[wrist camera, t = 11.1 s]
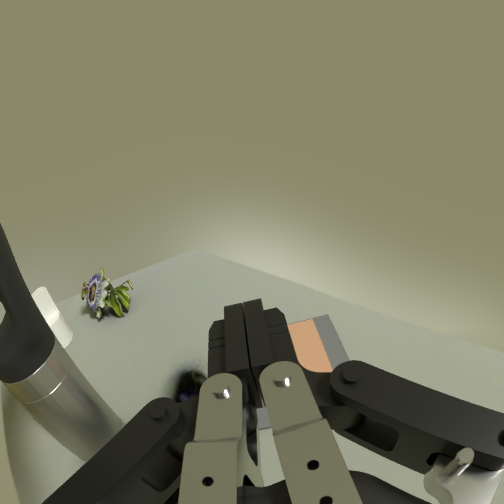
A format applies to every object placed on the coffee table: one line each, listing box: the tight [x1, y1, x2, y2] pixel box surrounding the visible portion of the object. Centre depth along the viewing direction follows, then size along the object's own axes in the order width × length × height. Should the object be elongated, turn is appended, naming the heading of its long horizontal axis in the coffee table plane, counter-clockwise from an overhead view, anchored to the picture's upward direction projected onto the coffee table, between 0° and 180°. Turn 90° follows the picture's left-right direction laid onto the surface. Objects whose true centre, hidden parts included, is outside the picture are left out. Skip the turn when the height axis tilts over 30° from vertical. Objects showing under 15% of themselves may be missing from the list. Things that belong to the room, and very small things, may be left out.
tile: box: [261, 319, 333, 402], centre depth 39 cm, size 10×2×12 cm
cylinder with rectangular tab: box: [31, 287, 73, 348], centre depth 51 cm, size 9×9×12 cm
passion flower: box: [81, 268, 134, 318], centre depth 61 cm, size 11×11×12 cm
